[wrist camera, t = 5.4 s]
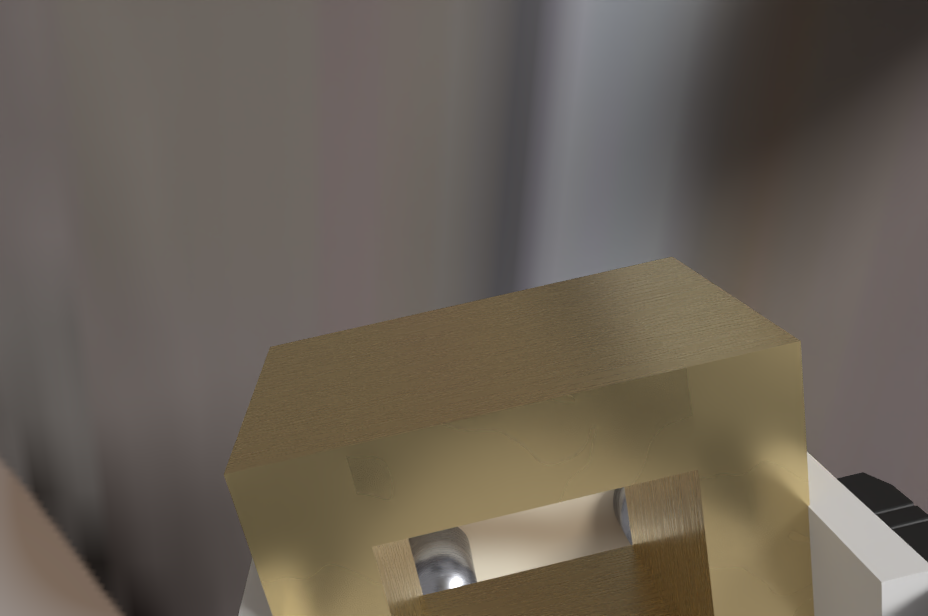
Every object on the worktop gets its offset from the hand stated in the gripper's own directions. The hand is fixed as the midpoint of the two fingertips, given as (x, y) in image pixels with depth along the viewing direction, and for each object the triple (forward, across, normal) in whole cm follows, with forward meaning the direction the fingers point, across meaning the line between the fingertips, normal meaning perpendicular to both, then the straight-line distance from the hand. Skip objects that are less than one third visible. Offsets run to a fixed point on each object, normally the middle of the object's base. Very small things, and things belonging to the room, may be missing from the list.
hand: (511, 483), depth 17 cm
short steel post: (+16, -3, -13) cm, 20 cm away
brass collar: (0, 0, 0) cm, 0 cm away
